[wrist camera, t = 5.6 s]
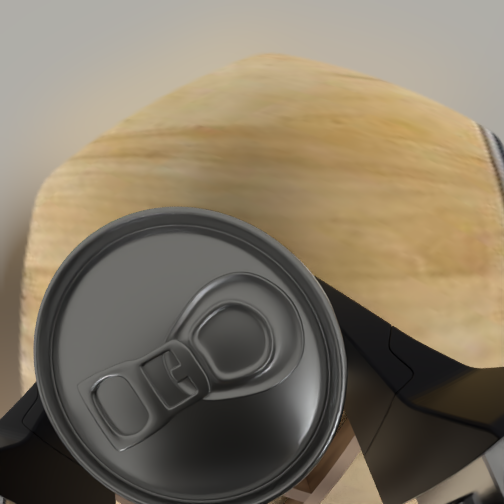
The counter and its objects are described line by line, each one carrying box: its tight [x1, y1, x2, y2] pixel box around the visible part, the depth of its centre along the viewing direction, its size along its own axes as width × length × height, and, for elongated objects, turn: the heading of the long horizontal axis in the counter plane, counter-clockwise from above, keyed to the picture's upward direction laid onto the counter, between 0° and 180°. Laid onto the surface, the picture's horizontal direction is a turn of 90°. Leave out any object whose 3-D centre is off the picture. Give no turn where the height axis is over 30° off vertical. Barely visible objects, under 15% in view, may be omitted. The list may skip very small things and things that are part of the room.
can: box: [34, 207, 347, 504], centre depth 10 cm, size 6×6×12 cm
